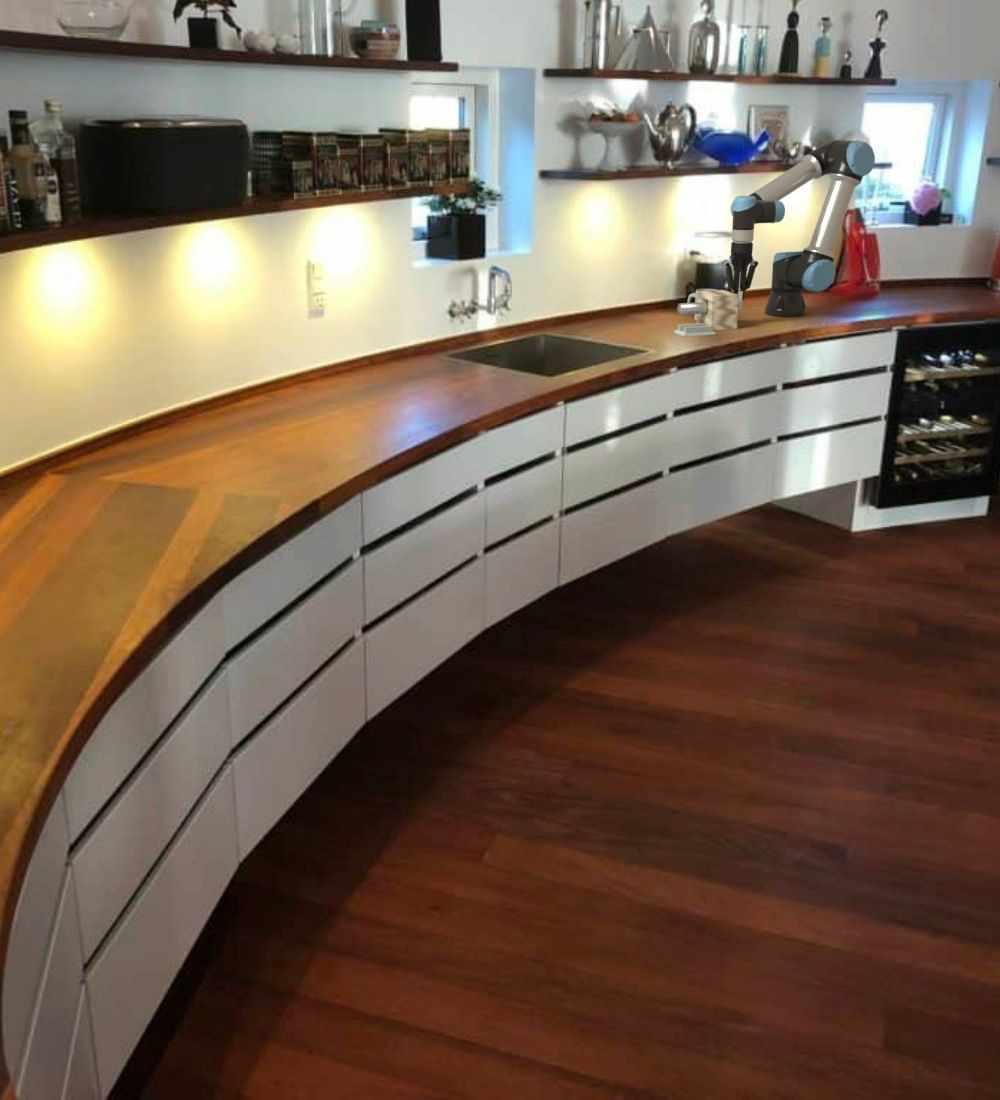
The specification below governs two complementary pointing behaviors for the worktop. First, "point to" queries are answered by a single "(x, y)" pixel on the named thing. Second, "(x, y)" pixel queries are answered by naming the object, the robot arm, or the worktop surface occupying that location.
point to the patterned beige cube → (719, 309)
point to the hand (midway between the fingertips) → (737, 309)
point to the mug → (697, 298)
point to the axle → (693, 308)
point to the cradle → (694, 329)
